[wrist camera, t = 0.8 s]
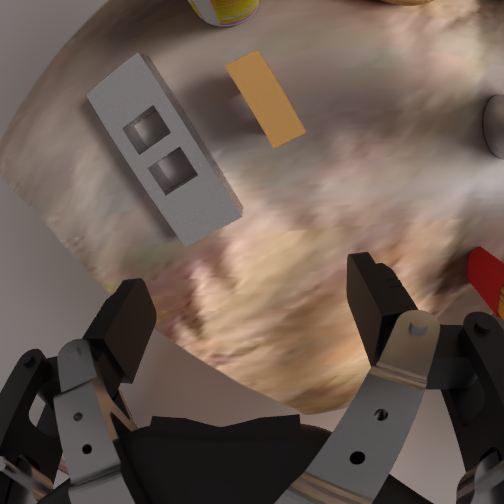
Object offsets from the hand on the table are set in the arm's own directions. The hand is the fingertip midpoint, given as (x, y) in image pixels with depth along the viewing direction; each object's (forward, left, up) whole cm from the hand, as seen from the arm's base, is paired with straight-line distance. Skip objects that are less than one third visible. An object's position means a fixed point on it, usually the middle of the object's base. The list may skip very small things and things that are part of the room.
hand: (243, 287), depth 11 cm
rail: (+6, -7, -21) cm, 23 cm away
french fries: (-25, +27, -21) cm, 43 cm away
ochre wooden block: (-5, -6, -21) cm, 22 cm away
